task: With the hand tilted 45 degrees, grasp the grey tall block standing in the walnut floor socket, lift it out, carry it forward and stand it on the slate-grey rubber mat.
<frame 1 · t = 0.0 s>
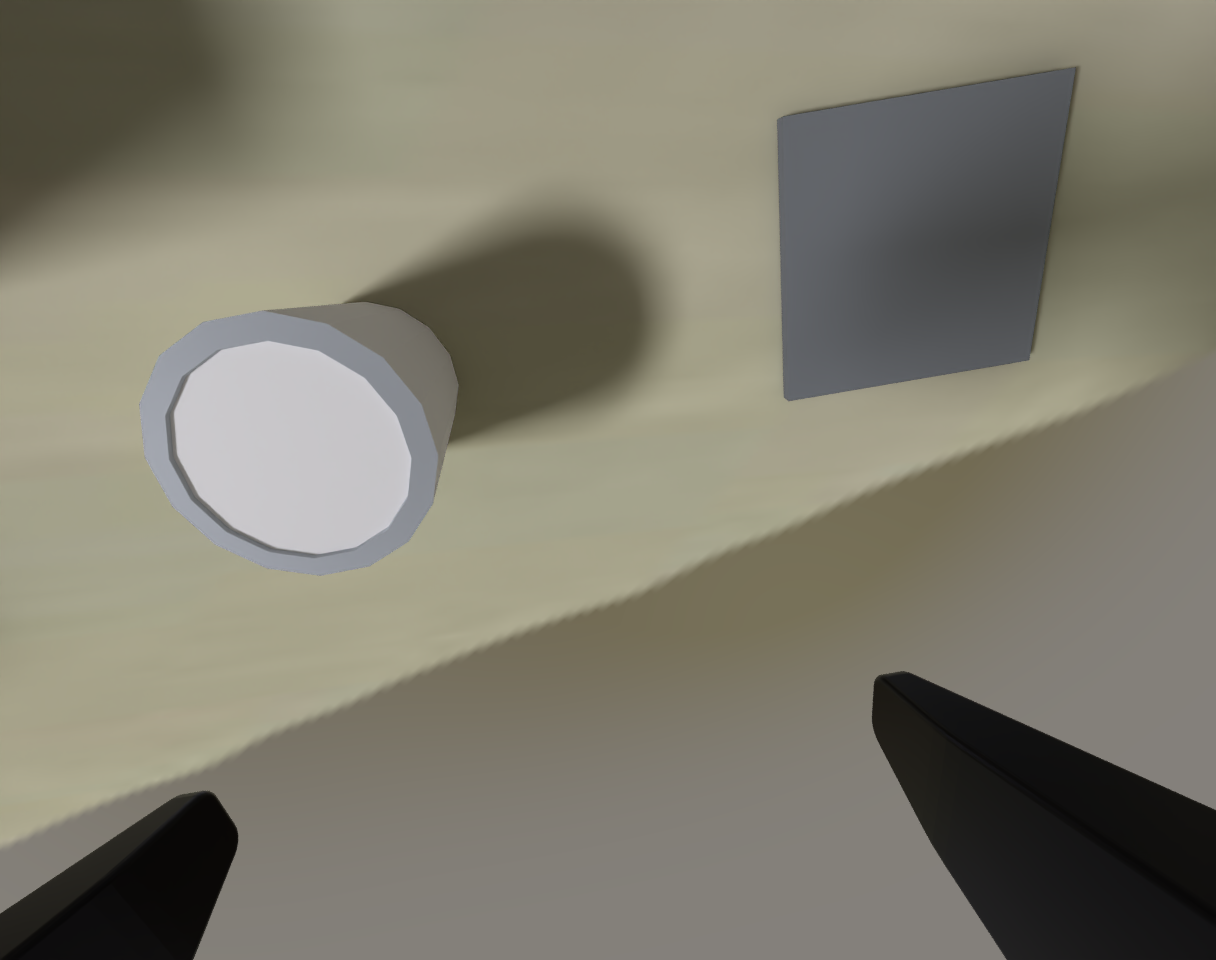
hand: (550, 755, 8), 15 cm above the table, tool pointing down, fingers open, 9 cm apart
white cup: (379, 383, 20), on the table
mat: (909, 249, 19), on the table
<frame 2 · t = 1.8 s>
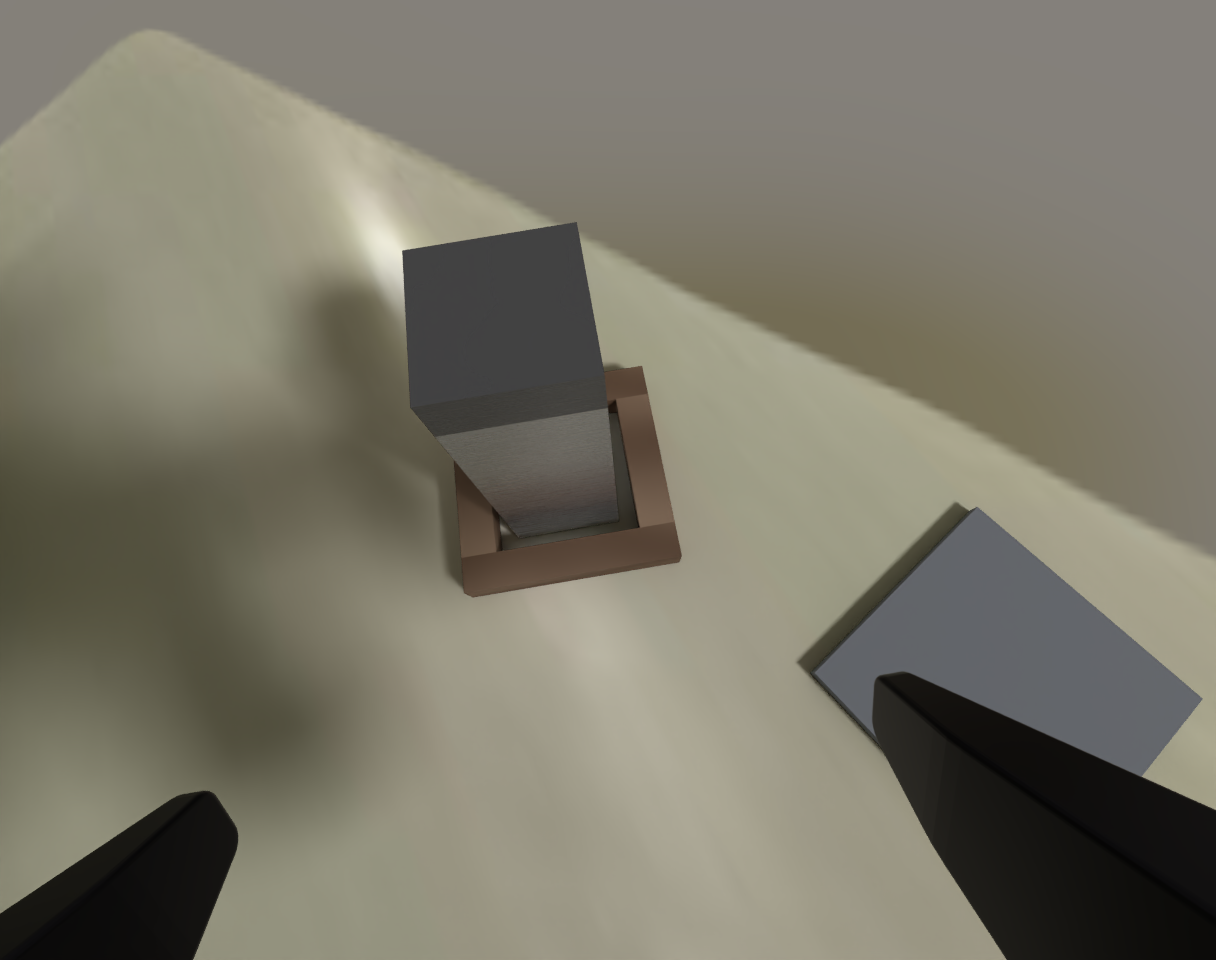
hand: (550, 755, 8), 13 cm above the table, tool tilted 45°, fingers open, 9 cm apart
socket: (562, 482, 23), on the table
grey tall block: (540, 422, 18), in the socket
mat: (995, 685, 20), on the table
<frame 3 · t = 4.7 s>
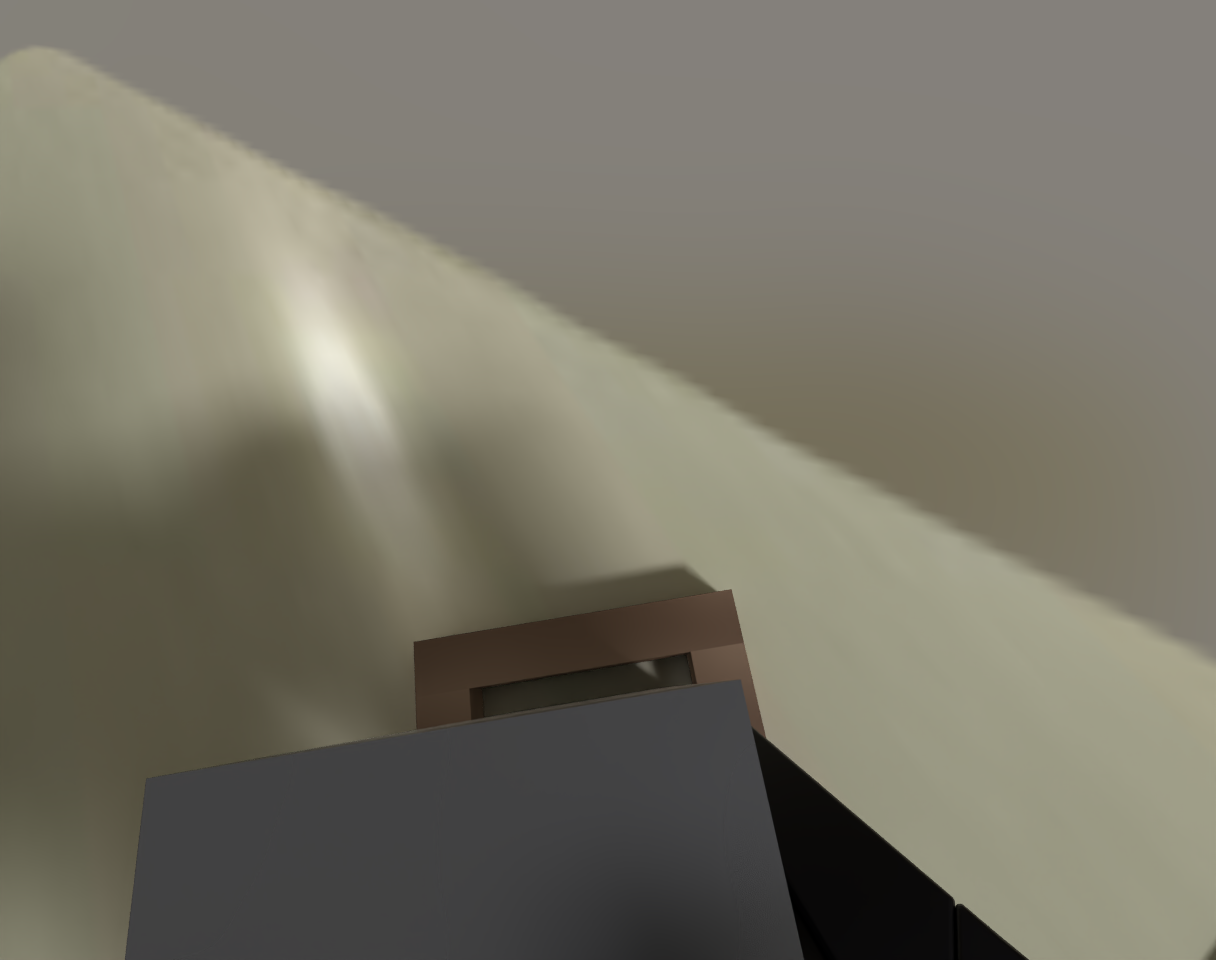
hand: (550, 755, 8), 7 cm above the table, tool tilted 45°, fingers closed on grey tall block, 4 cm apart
socket: (599, 786, 14), on the table
grey tall block: (575, 848, 8), in the socket, touching gripper
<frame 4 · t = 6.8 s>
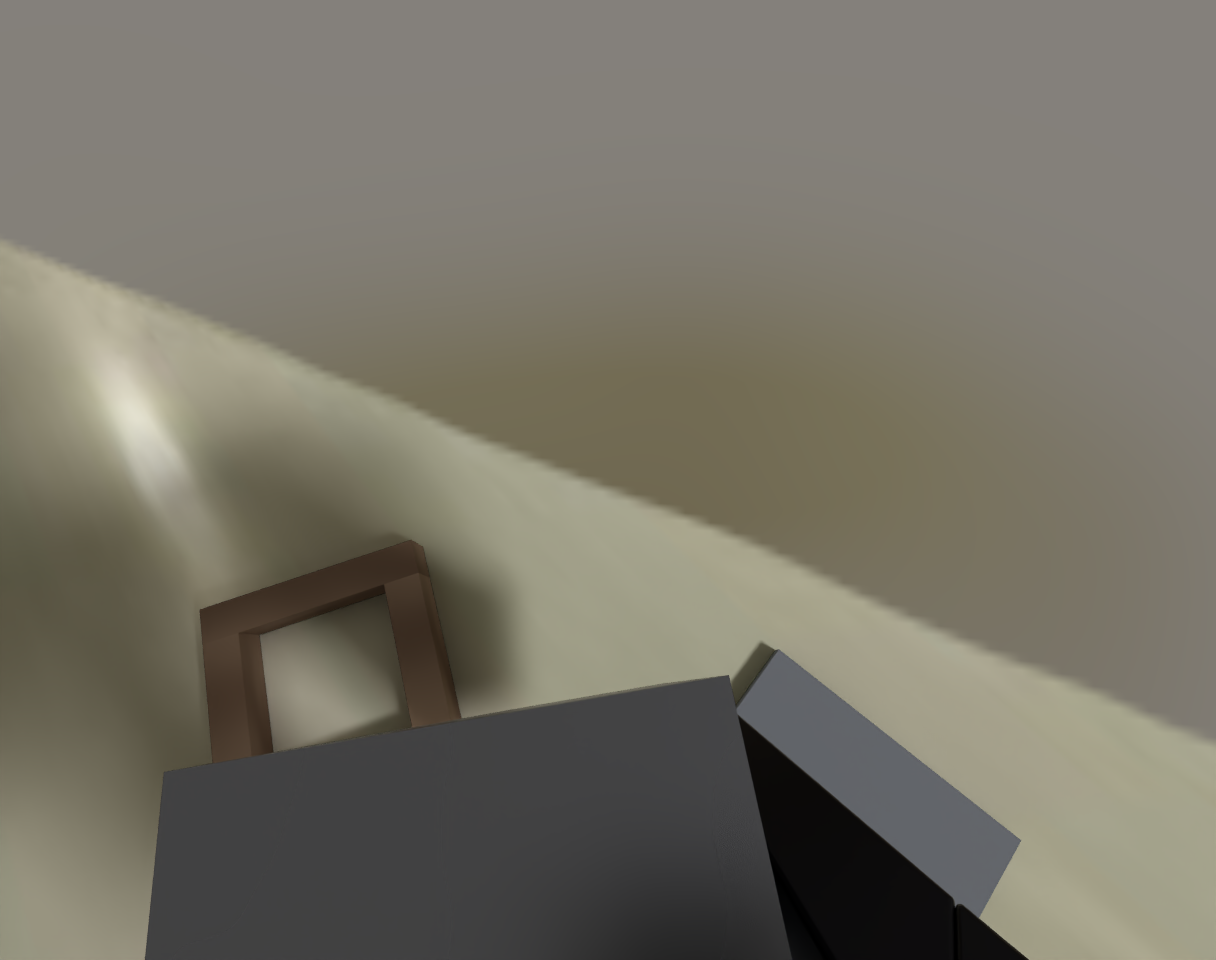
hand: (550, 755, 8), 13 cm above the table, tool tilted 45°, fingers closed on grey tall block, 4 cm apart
socket: (340, 683, 21), on the table
grey tall block: (575, 840, 9), point 12 cm above the table, touching gripper
mat: (812, 854, 18), on the table
when the fingers open (8 cm above the table, at t = 9.0 s): grey tall block stays where it is, resting on mat.
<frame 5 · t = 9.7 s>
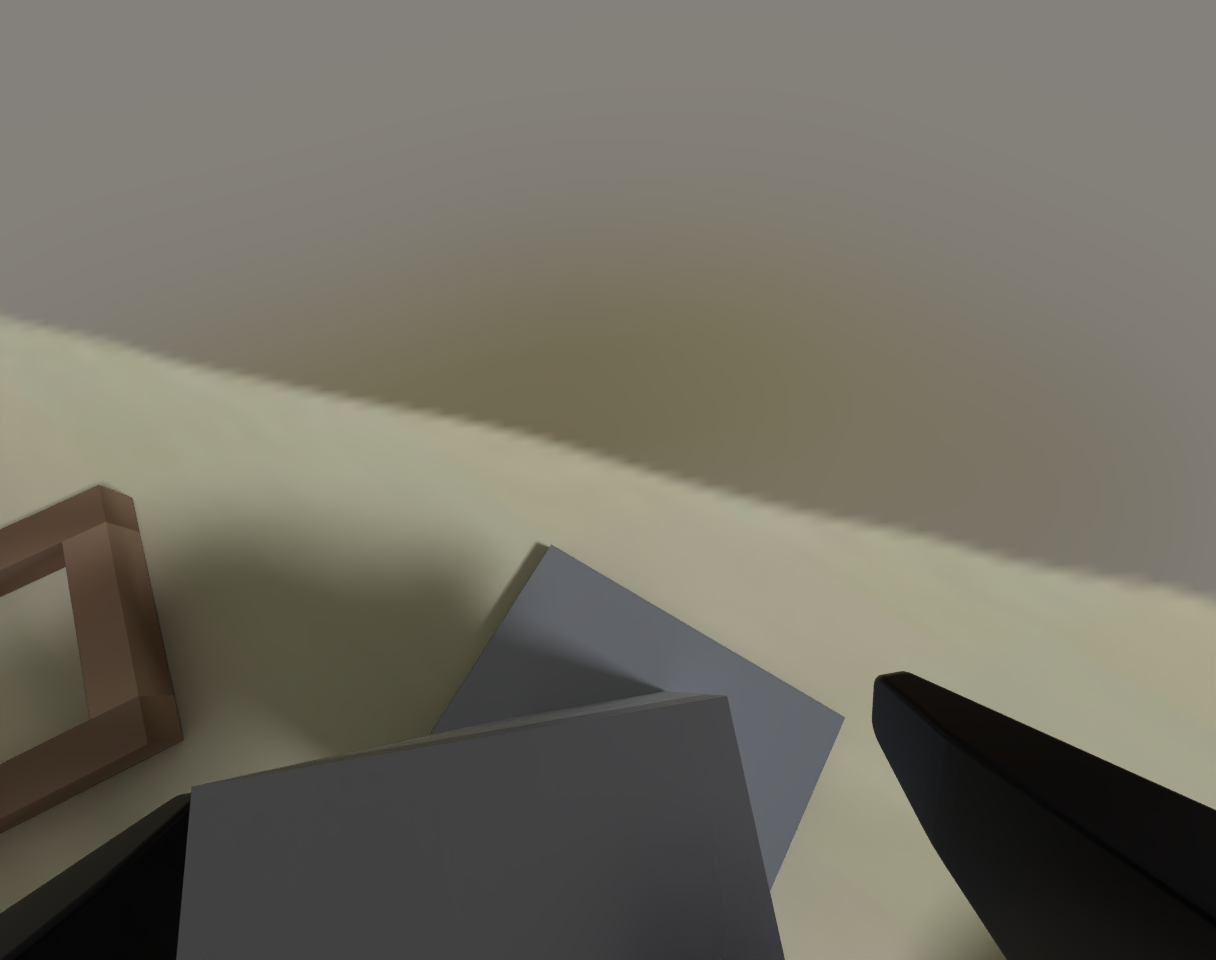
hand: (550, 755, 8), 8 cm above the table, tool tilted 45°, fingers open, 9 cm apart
socket: (21, 673, 17), on the table
grey tall block: (578, 848, 9), on the mat
mat: (605, 780, 15), on the table
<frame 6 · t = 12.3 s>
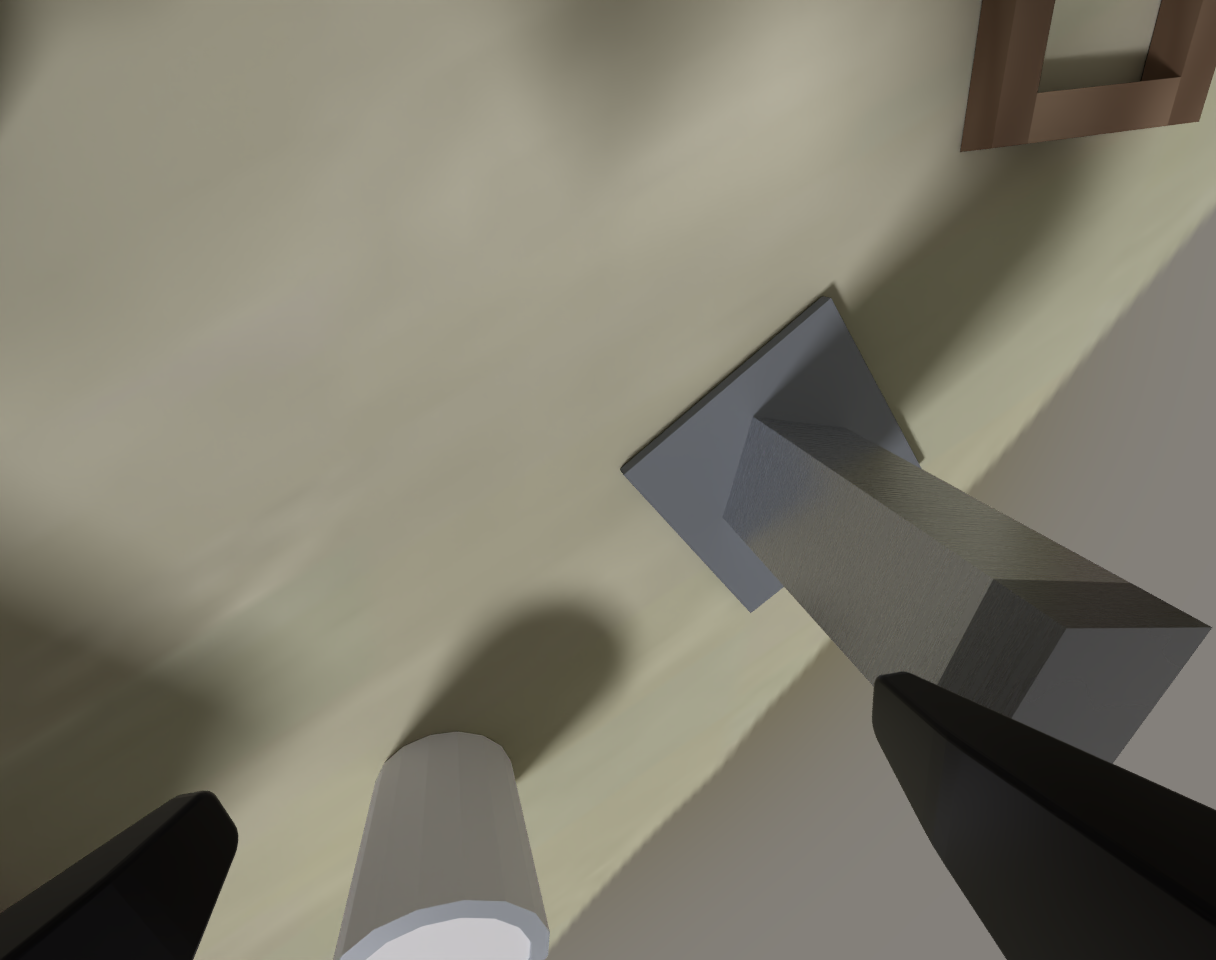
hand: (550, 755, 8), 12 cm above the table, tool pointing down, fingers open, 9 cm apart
grey tall block: (888, 554, 16), on the mat
white cup: (445, 776, 24), on the table
mat: (779, 469, 22), on the table
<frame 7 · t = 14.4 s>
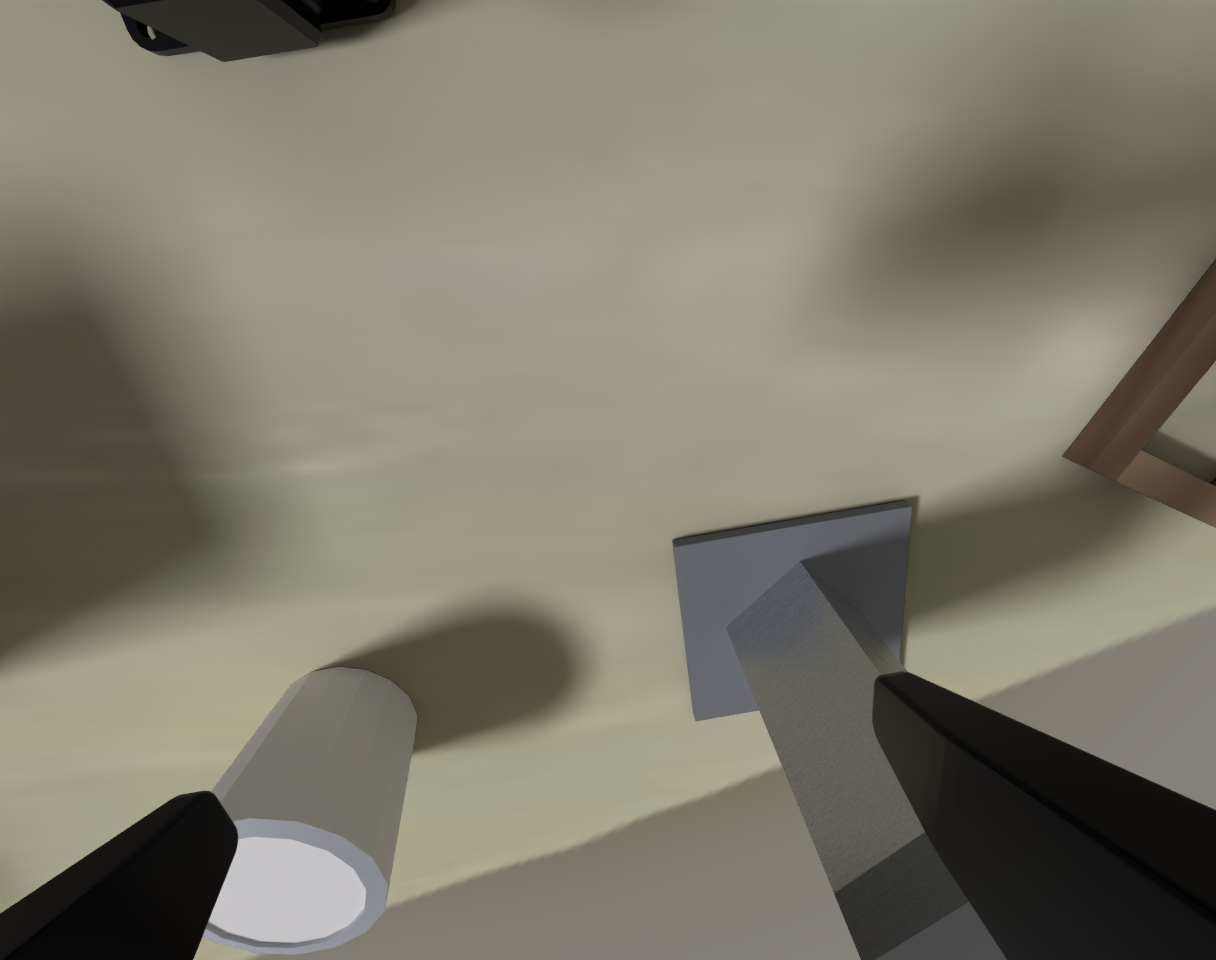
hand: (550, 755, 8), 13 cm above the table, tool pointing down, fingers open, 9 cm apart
socket: (1215, 399, 21), on the table
grey tall block: (863, 736, 18), on the mat
white cup: (351, 714, 24), on the table
mat: (790, 614, 23), on the table
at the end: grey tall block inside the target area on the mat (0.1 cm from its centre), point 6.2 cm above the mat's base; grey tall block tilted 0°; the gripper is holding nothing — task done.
